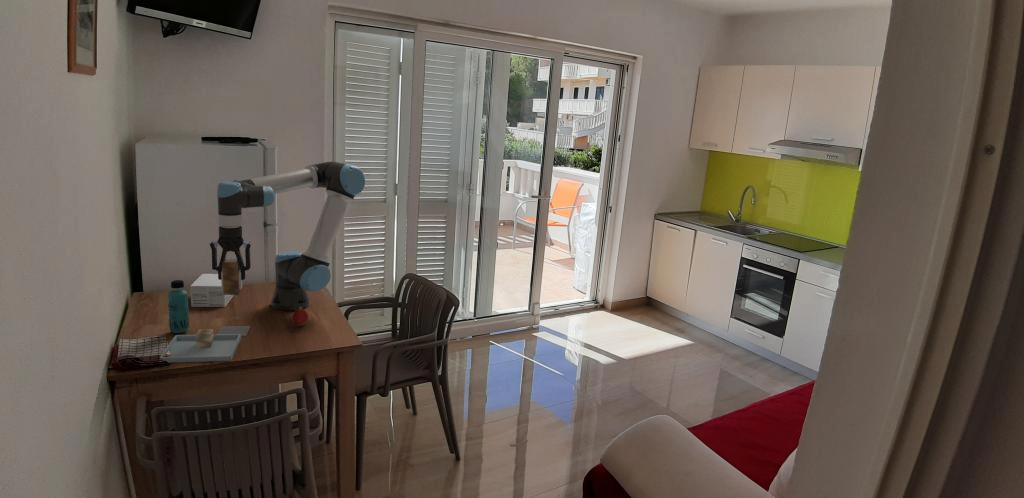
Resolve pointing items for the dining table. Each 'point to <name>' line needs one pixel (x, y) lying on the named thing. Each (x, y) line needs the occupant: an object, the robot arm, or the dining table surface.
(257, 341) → the dining table surface
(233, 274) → the walnut box
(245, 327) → the slate coaster
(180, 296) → the beverage bottle
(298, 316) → the onion
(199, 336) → the birch block
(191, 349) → the bin
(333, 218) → the robot arm
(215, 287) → the supplement box
